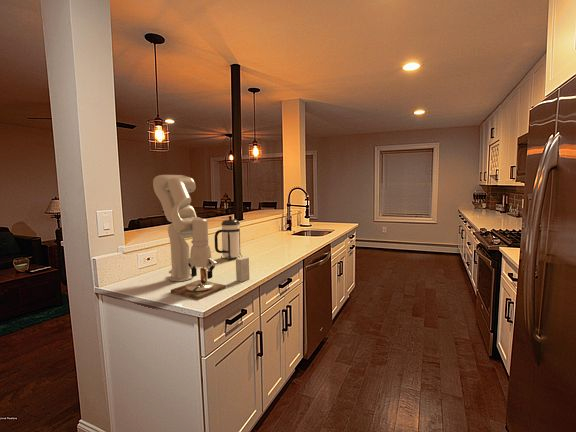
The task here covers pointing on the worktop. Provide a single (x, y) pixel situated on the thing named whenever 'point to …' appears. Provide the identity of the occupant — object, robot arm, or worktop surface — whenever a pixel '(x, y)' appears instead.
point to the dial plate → (197, 295)
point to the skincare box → (242, 269)
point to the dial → (201, 283)
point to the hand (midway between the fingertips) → (202, 277)
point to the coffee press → (229, 238)
